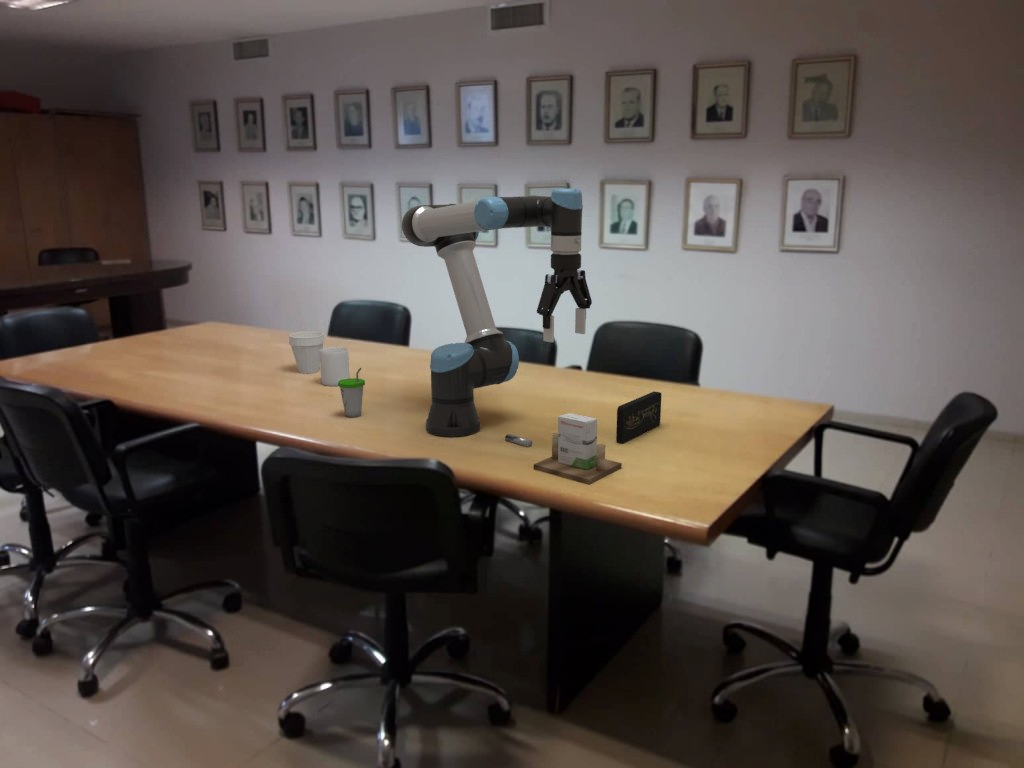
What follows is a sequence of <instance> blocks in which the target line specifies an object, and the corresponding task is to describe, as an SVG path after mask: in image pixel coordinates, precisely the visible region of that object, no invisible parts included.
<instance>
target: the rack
mask: <svg viewBox="0 0 1024 768" xmlns="http://www.w3.org/2000/svg"><path fill="white" fill-rule="evenodd" d="M622 465H623V464H622V463H621V462H618V461H615V460H611V459H607V458H606V445H605V444H603V443H602V444H601V443H597V453H596V465H595V466H593V467H591V468H589V469H587V470H586V469H582V468H578V467H574V466H570V465H566V464H562V463H559V462H558V432H557V433H556V432H555V433H552V434H551V456H549V457H546V458H545V459H543V460H540V461H538V462H536V463H533V470H535V469H536V470H537V471H539V472H543V473H545V474H546V473H547V474H550V475H554V476H557V477H560V476H561V478H564V479H568V480H571V481H575V482H579V483H582V484H585V485H591V484H592V483H594V482H597V481H598V480H601V479H603V478H604V477H606V476H607V477H608V475H610V474H613V473H614V472H616V471H618V470H620V469H622Z"/></svg>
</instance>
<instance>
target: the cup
mask: <svg viewBox="0 0 1024 768" xmlns="http://www.w3.org/2000/svg"><path fill="white" fill-rule="evenodd" d="M361 370H362V367H359V368H358V370H357V371H356V374H355V376H356V377H354V378H353V377H352V378H350V379H343V380H340V381H338V386H337V387H339V390H340V395H341V400H342V404H343V410H344V414H345V415H344V416H345V417H346V418H351V419H352V418H353V419H354V418H358V417H361V416H362V408H363V398H364V397H363V396H364V393H363V392H364V386H365V384H366V381H365V379H362V378H359V373H360V372H361Z"/></svg>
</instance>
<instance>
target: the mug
mask: <svg viewBox="0 0 1024 768" xmlns="http://www.w3.org/2000/svg"><path fill="white" fill-rule="evenodd" d="M349 360H350V359H349V348H347V347H345V346H331V347H323V348H322V349H320V365H319V366H320V378H321V379H320V380H321V384H322V385H323V386H326V387H339V386H338V381H340V380H343V379H351V378H350V361H349Z"/></svg>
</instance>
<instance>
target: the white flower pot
mask: <svg viewBox="0 0 1024 768" xmlns="http://www.w3.org/2000/svg"><path fill="white" fill-rule="evenodd" d="M288 339H289V342H288V344H289V345H290V347H291V350H292V353H293V356H294V357H293V358H294V360H295V363H296V366H297V368H298V369H297V370H298V372H299V374H303V375H305V374H306V375H308V374H316V373H318V372H319V370H320V366H321V365H320V349H323V348H324V347H323V346H324V343H325V333H324V332H322V331H321V332H320V331H316V330H315V331H313V330H311V331H309V330H305V331H297V332H293V333H289V335H288Z"/></svg>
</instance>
